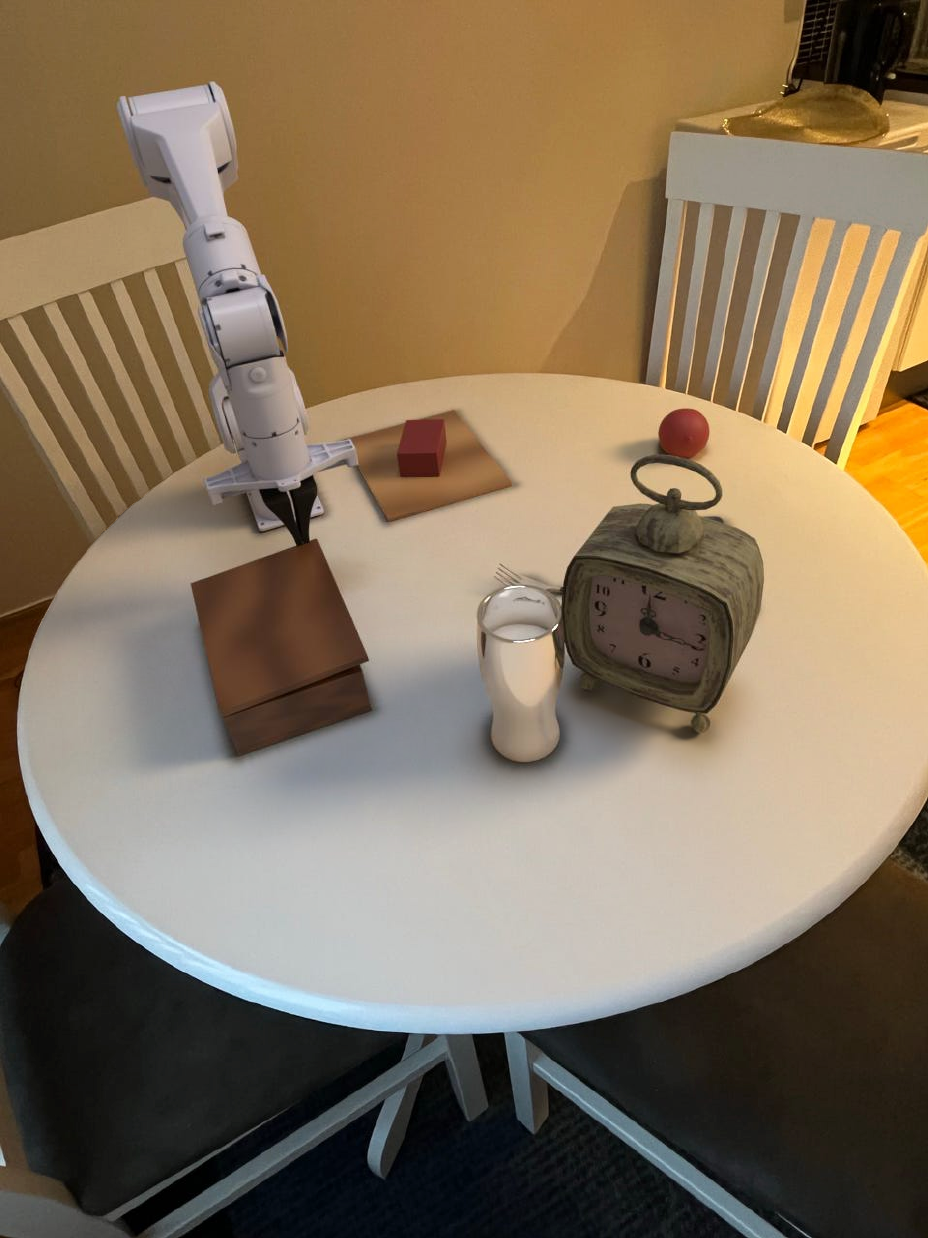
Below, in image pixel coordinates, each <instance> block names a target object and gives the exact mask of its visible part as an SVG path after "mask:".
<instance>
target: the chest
mask: <svg viewBox="0 0 928 1238" xmlns="http://www.w3.org/2000/svg"><path fill="white" fill-rule="evenodd" d="M372 710H373V708H372V704H371V700H370V696H369V692H368V688H367V684H366V680H365V675H364V671H363V669H362V667H361V664H360V665H357V666H355V667H352V668H349V669H347V670H344V671H342V672H339V673H337V674H334V675H331V676H329V677H326V678H324V679H321V680H318V681H316V682H313V683H311V684H308V685H306V686H303V687H300V688H298V689H295V690H293V691H290V692H287V693H285V694H282V695H280V696H277V697H275V698H272V699H269V700H267V701H264V702H262V703H259V704H256V705H254V706H251V707H249V708H246V709H244V710H241V711H238V712H236V713H233V714H231V715H228V716H225V717H222V716H221V718H222V720H223V723H224V725H225V727H226V730H227V732H228V735H229V736H230V739H231V741H232V744H233V746H234V748H235V750H236V752H237V755H238V757H240V756H243V755H246V754H248V753H252V752H255V751H257V750H260V749H263V748H266V747H270V746H272V745H275V744H278V743H280V742H283V741H287V740H289V739H292V738H295V737H298V736H300V735H304V734H307V733H310V732H313V731H315V730H319V729H321V728H324V727H327V726H329V725H330V726H331V725H332V724H336V723H339V722H341V721H345V720H348V719H350V718H353V717H356V716H359V715H362V714H365V713H367V712H370V711H372Z"/></svg>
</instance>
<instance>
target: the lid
mask: <svg viewBox="0 0 928 1238" xmlns="http://www.w3.org/2000/svg"><path fill="white" fill-rule="evenodd" d="M320 544H321V543H320V542H319V539H318V538H313V539H310V542H309V543H306V544H303V545H299V546H296V545H293V546H291V547H288V548H285V549H283V550H279V551H277V552H275V553H271V554H268V555H266V556H263V557H260V558H258V559H257V558H256V559H255V560H252V561H249V562H246V563H243V564H241V565H238V566H235V567H232V568H229V569H227V570H224V571H221V572H218V573H215V574H212V575H209V576H207V577H204V578H201V579H199V580H196V581H193V582H190V587H191V588H190V589H191V592H192V596H193V601H194V605H195V610H196V614H197V618H198V623H199V628H200V631H201V636H202V641H203V645H204V649H205V654H206V658H207V663H208V667H209V671H210V676H211V681H212V685H213V690H214V694H215V698H216V703H217V707H218V711H219V714H220V716H221V718H222V717H225V716H228V715H231V714H233V713H236V712H238V711H241V710H244V709H246V708H249V707H251V706H254V705H256V704H259V703H262V702H264V701H267V700H269V699H272V698H275V697H277V696H280V695H282V694H285V693H287V692H290V691H293V690H295V689H298V688H300V687H303V686H306V685H308V684H311V683H313V682H316V681H318V680H321V679H324V678H326V677H329V676H331V675H334V674H337V673H339V672H342V671H344V670H347V669H349V668H352V667H355V666H357V665H360V666H361V665H362V664H365V663H368V662H370V659H369V656H368V653H367V651H366V649H365V646H364V644H363V641H362V639H361V637H360V634H359V632H358V629H357V628H356V626H355V623H354V621H353V618H352V616H351V614H350V611H349V609H348V607H347V604H346V603H345V600H344V598H343V595H342V593H341V591H340V588H339V586H338V584H337V581H336V579H335V577H334V574H333V571H332V570H331V568H330V565H329V563H328V561H327V558H326V556H325V553H324V551H323V549H322V546H321V545H320Z"/></svg>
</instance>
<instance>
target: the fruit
mask: <svg viewBox="0 0 928 1238" xmlns="http://www.w3.org/2000/svg"><path fill="white" fill-rule="evenodd" d="M657 433H658V442H659V444H660V446H661V448H662V449H663V450H664V452H665V453H666V455H672V456H677V457H681V458H685V459H691V458H693V457H695V456H697V455H698V454H699V453H701V452H702V451H703V450H704V448H705V447H706V445H707V443H708V441H709V438H710V425H709V422H708V420H707V418H706V416H705V415H704V414H703V413H702V412H700V411H699V410H696V409H693V408H678V409H675V410H672V411H670V412H669V413H667V414H666V415H665V416H664V417H663V419H662V420H661V422H660V424H659V427H658V432H657Z"/></svg>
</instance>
